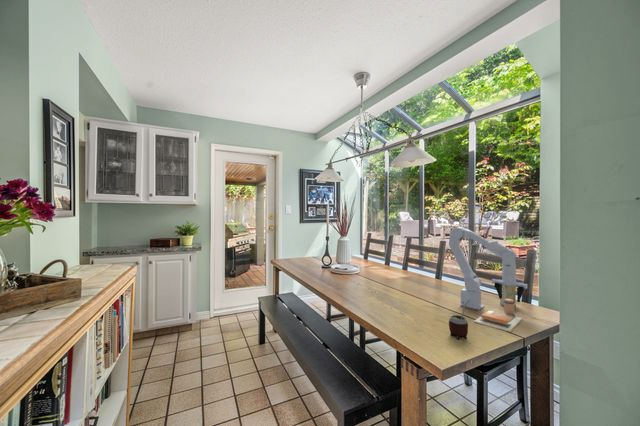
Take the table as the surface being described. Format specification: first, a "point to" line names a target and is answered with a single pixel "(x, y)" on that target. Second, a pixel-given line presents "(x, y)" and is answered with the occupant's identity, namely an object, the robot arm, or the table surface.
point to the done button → (495, 318)
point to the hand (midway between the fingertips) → (509, 300)
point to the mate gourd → (458, 325)
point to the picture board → (507, 327)
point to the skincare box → (508, 294)
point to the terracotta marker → (509, 306)
